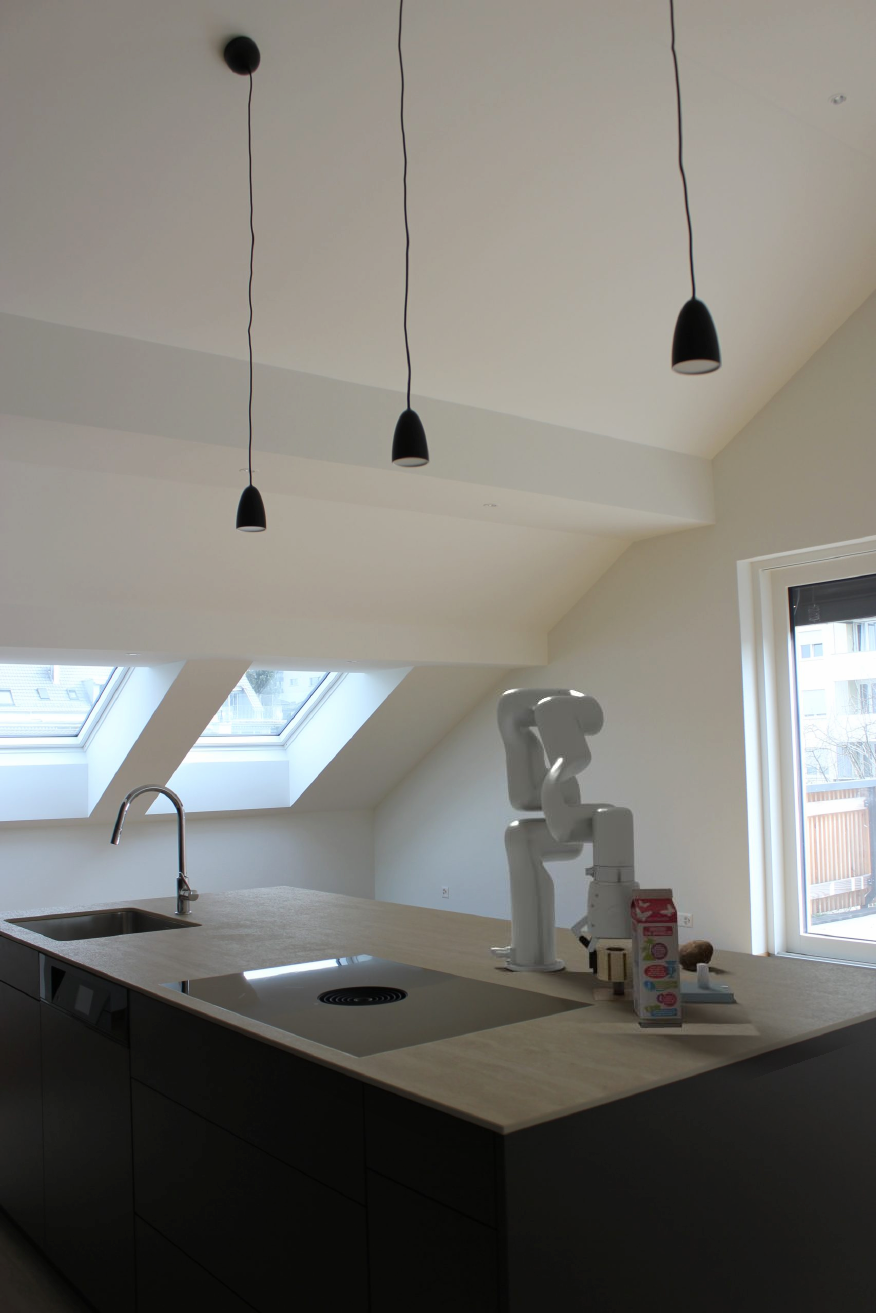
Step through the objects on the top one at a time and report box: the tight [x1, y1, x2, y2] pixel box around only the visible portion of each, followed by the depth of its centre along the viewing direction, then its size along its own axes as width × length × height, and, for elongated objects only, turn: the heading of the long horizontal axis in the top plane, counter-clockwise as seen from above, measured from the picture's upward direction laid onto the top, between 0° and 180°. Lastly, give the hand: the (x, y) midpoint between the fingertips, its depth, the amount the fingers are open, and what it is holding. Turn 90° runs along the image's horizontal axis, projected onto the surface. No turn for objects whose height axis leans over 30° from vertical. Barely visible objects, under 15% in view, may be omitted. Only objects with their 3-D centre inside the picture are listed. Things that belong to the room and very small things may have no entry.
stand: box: [592, 981, 634, 1001], centre depth 184 cm, size 9×9×6 cm
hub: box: [680, 963, 735, 1003], centre depth 181 cm, size 9×9×7 cm
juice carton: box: [631, 888, 683, 1029], centre depth 170 cm, size 7×7×22 cm
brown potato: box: [679, 939, 714, 971], centre depth 214 cm, size 8×8×6 cm
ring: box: [595, 944, 633, 983], centre depth 185 cm, size 7×7×5 cm
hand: (616, 972), depth 185 cm, fingers closed on ring, 7 cm apart
